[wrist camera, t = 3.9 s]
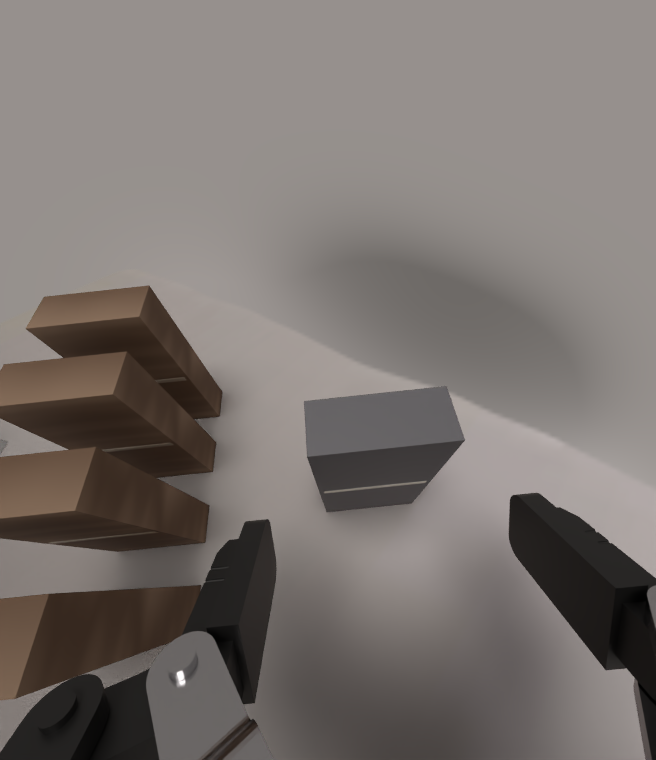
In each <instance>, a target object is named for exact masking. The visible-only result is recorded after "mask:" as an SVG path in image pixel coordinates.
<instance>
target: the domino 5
mask: <svg viewBox="0 0 656 760" xmlns="http://www.w3.org/2000/svg"><path fill="white" fill-rule="evenodd" d="M304 409H305V427H306V446H307V458H308V461H309V464H310V466H311V469H312V472H313V475H314V478H315V481H316V483H317V486H318V489H319V492H320V495H321V497H322V500H323V503H324V506H325V509H326V511H327V512H333V511H343V510H352V509H362V508H371V507H381V506H390V505H400V504H409V503H412V502H413V501H414V500H415V499H416V498H417V496H418V495H419V494H420V493H421V492H422V490H423V489H424V488H425V487H426V486H427V485H428V483H429V482H430V481H431V480H432V479H433V477H434V476H435V475H436V474H437V473H438V472H439V470H440V469H441V468H442V467H443V466H444V464H445V463H446V462H447V461H448V460H449V458H450V457H451V456H452V455H453V454H454V453H455V451H456V450H457V449H458V448H459V447H460V445H461V444H462V443H463V442H464V441H465V439H464V436H463V433H462V430H461V427H460V424H459V421H458V418H457V415H456V413H455V410H454V407H453V404H452V401H451V398H450V395H449V392H448V389H447V387H446V386H444V387H434V388H424V389H415V390H405V391H396V392H386V393H377V394H368V395H358V396H349V397H339V398H330V399H320V400H311V401H304Z"/></svg>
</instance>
